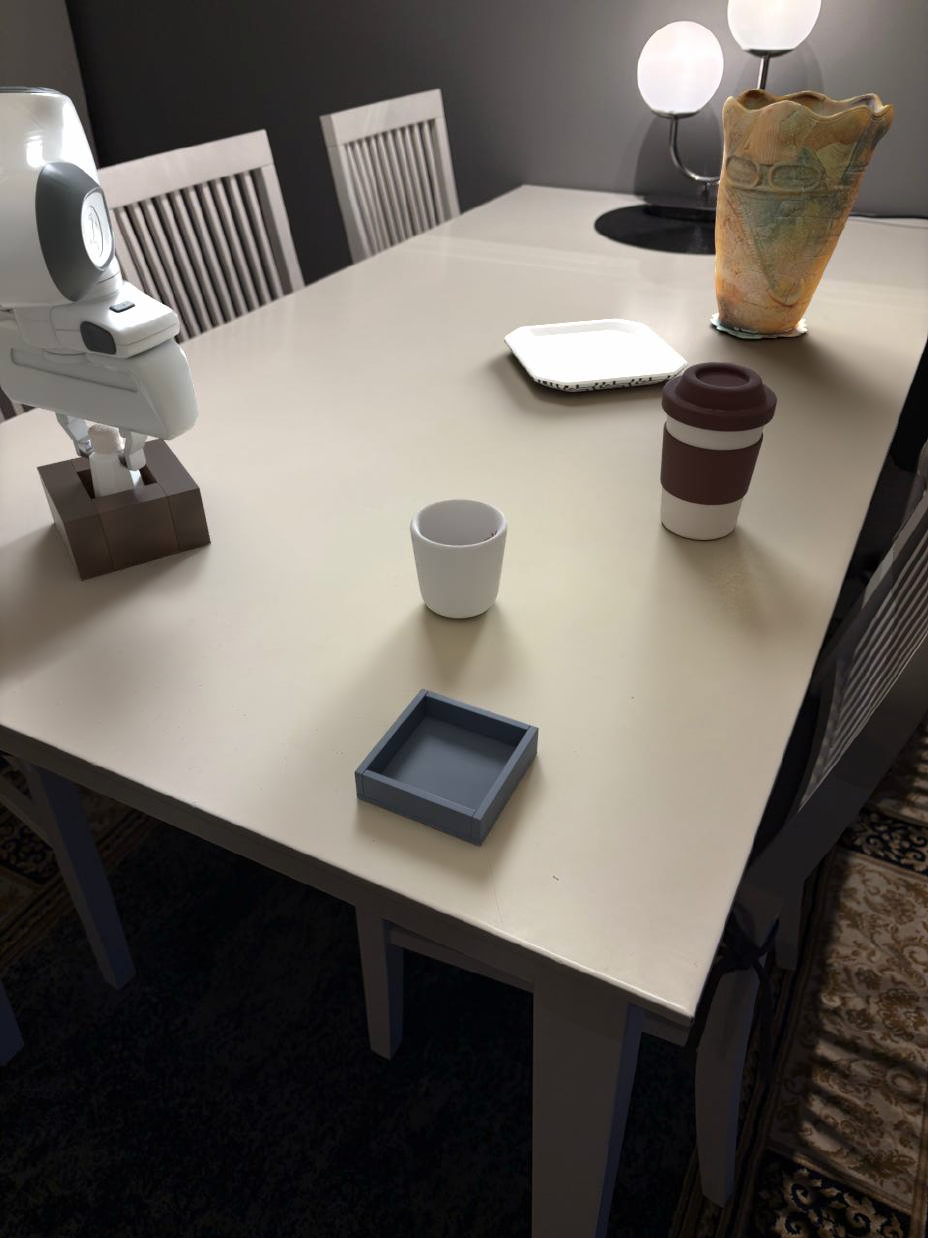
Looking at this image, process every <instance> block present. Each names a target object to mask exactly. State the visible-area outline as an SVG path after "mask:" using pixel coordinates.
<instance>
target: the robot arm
mask: <svg viewBox="0 0 928 1238" xmlns="http://www.w3.org/2000/svg"><path fill="white" fill-rule="evenodd" d="M98 173H99V172H98V170H97V166H96V163H95V160H94V155H93V153H92V150H91V148H90V144H89V142H88V139H87V135H86V133H85V130H84V127H83V124H82V122H81V120H80V117H79V115H78V112H77V109H76V107H75V105H74V103H73V101H72V99H71V98H70V97H69V96H68V95H66V94H63V93H62V92H60V91H59V90H56V89H52V88H48V87H41V86H35V87H29V86H28V87H27V86H0V388H1V390H2V392H3V393H4V394H5V396H6V397H7V398H8V399H9V400H10V401H11V402H13V403H16V404H17V403H18V404H22V405H25V406H29V407H33V408H37V409H40V410H45V411H49V412H53V413H54V414H55V418H56V421H57V423H58V424H59V426H60V427H61V428H62V430H63V431H64V432H65V433H66V435H67V436H68V437H69V438H70V439H71V440H72V442H73V446H74V449H75V453H76V455H77V456H78V457H84V458H88V459H89V456H90V455H91V454H92V453H93V452H94V449H93V448H94V447H93V446H92V443H91V438H90V437H89V435H88V429H89V428H90V427H89V425H88V424H87V422H86V421H88V422H91V423H92V422H93V423H95V424H97V423H100V424H104V425H108V426H112V427H116V428H118V430H119V434H120V437H121V438H122V439H125V440H124V444H123V445H124V449H121V450H119V451H117V456H118V459H119V460H120V463H119V464H120V466H121V467H122V468H125V469H128V470H132V471H137V470H139V469H140V468H142V467H144V466H145V463H146V460H145V455H144V451H143V447H144V444H145V442H147V439H148V437H152V438H154V439H163V440H164V441H172V440H174V439H176V438H179V437H180V436H182V435H183V434H186V433H187V432H188V431H190V430H191V429H193V428H194V426H195V425H196V422H197V421H198V418H199V407H198V402H197V395H196V390H195V386H194V381H193V377H192V373H191V369H190V365H189V362H188V360H187V357H186V354H185V352H184V350H183V349H182V347H181V346H180V345H179V344H178V343H177V342H176V341H175V340H173V339H172V338H175V336H177V335H178V334H179V333H180V330H181V329H180V323H179V322H180V321H179V317H178V314H177V312H175V311H174V310H173V309H172V308H170V306H168V305H165V304H163V303H162V302H160V301H158V300H156V299H154V298H153V297H151V296H149V295H148V294H146V293H145V292H143V291H142V290H140V289H139V288H137V287H136V286H135V285H134V284H132V283H131V282H129V281H127V280H125V279H123V276H122V271H121V267H120V264H119V261H118V258H117V256H116V254H115V253H116V241H115V234H114V229H113V225H112V220H111V216H110V211H109V206H108V202H107V197H106V195H105V191H104V189H103V188H102V185H101V180H100V177H99V174H98Z"/></svg>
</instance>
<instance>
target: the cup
mask: <svg viewBox="0 0 928 1238" xmlns="http://www.w3.org/2000/svg"><path fill="white" fill-rule="evenodd" d="M508 527H509V525H508V520H507V517H506V516H505V514H504V513H503V512H502V511H501V510H500V509H498V508H497V507H496V506H494V505H492V504H490V503H487V502H484V501H481V500H477V499H472V498H471V499H470V498H449V499H443V500H437V501H434V502H431V503H428V504H426V505H425V506H423V507H421V508H420V509H419V510H418V511H416V512H415V514H413V516H412V517H411V520H410V522H409V532H410V538H411V539H410V540H411V544H412V551H413V558H414V563H415V570H416V575H417V582H418V586H419V592H420V595H421V599H422V600H423V602H424V604H425V605H426V607H428V609H430V610H431V611H432V612H433V613H436V614H437V615H439V616H442V617H445V618H450V619H467V618H473V617H477V616H479V615H482V614H484V613H485V612H487V611H488V610H489V609H490V608H491V607H492V606H493V604H494V603H495V601H496V599H497V596H498V593H499V590H500V584H501V577H502V571H503V570H502V569H503V564H504V563H503V562H504V558H505V550H506V543H507V542H506V541H507V535H508Z"/></svg>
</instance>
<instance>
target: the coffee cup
mask: <svg viewBox="0 0 928 1238" xmlns="http://www.w3.org/2000/svg"><path fill="white" fill-rule="evenodd" d="M660 402H661V404H660V405H661V408H662V410H663V412H664V413H665V414H666V420H665V422H664V424H663V429H662V430H663V431H662V446H661V461H660V462H661V463H660V476H659V481H660V485H661V496H660V510H659V516H660V518H659V519H660V520H661V523H662V525H664V527H665V528H666V529H667V530H668V531H670V532H671V533H674V534H676V535H678V536H680V537H683V538H686V539H692V540H700V541H709V540H716V539H721V538H723V537H726V536H728V535H729V534H730V533H731V532H733V530H734V529H735V527H736V525H737V522H738V519H739V515H740V511H741V508H742V505H743V501H744V499H745V496H746V495H747V493H748V491H749V488H750V485H751V481H752V478H753V475H754V471H755V468H756V464H757V461H758V458H759V455H760V451H761V447H762V444H763V440H764V432H763V431H764V428H765V425H767V424H769V423H770V422H771V421H772V420H773V419H774V416H775V413H776V409H777V403H778V397H777V395H776V393H775V391H773V389H772V388H770V387H769V386H768V385H766V384H765V383H764V382H763V378H762V376H761V375H760V374H759V373H758V372H756V371H755V370H753V369H751V368H749V367H746V366H743V365H740V364H737V363H730V362H721V361H709V362H700V363H695V364H693V365H691V366H689V367H686V368H685V369H684V370H683V373H682V374H680V375H677V376H676V377H673V378H670V379H669V380H668V381H667V382H666V383H665V385H664V386H663V388H662V395H661V401H660Z"/></svg>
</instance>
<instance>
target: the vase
mask: <svg viewBox="0 0 928 1238" xmlns="http://www.w3.org/2000/svg"><path fill="white" fill-rule="evenodd" d="M894 116H895V111H894V104H893V103H892V104H891V103H890V104H886V105H883V102H882V101H881V98H880V97H879V96H878V95H877V94H875V93H867V94H862V95H855V96H852V97H850V98H845V99H841V100H834V99H831V98H830V97H828V96H827V95H826V94H823V93H820V92H817V91H814V90H803V91H799V92H794V93H790V94H786V95H772V94H771V93H770V92H768V91H766V90H765V89H761V88H753V89H746V90H744V91H742V92H740V93H739V95H738V96H737V97H735V96H733V95H732V96H728V97H727V99H726V100H725V102H724V103H723V107H722V127H723V154H722V156H723V157H722V163H721V164H722V165H721V171H720V177H719V183H718V190H717V198H716V199H717V200H716V210H715V211H716V212H715V225H714V226H715V227H714V245H715V265H714V266H715V269H714V270H715V271H714V277H715V279H714V281H715V282H714V283H715V285H714V286H715V297H716V298H715V299H716V304H717V310H718V312H716V313H714V314H712V316H711V317H712V318H710V319H709V321H710V322H711V323H712V324H713V325H715V326H716V329H717V330H719V331H724V332H727V333H728V334H729V335H732V336H735V337H737V338H741V339H762V338H771V339H777V337H787V338H788V337H790V338H791V337H797V336H801V335H802V334H804V333H805V332H807V331H808V329H807V328H806V327H807V326H808V327H809V324H808V323H805V321H806V319H805V318H803V316H804V315H805V314H806V311H807V310H808V307H809V305H810V303H811V301H812V299H813V296H814V295H815V293H816V290H817V289H818V286H819V284H820V282H821V280H822V277H823V275H824V272H825V271H826V268H827V266H828V264H829V263H830V261H831V259H832V256H833V254H834V253H835V250H836V248H837V246H838V243H839V241H840V238H841V235H842V232H843V231H844V229H845V227H846V224H847V221H848V220H849V217H850V214H851V212H852V209H853V207H854V204H855V203H856V200H857V197H858V195H859V193H860V189H861V186H862V183H863V179H864V176H865V174H866V171H867V169H868V167H869V165H870V163H871V161H872V158H873V156H874V152H875V149H876V147H877V145H878V144H879V143H880V141H881V140H882V139H883V137H885V136H886V134H887V133H888V132H889V130H890V129H891V127H892V123H893V121H894Z"/></svg>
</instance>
